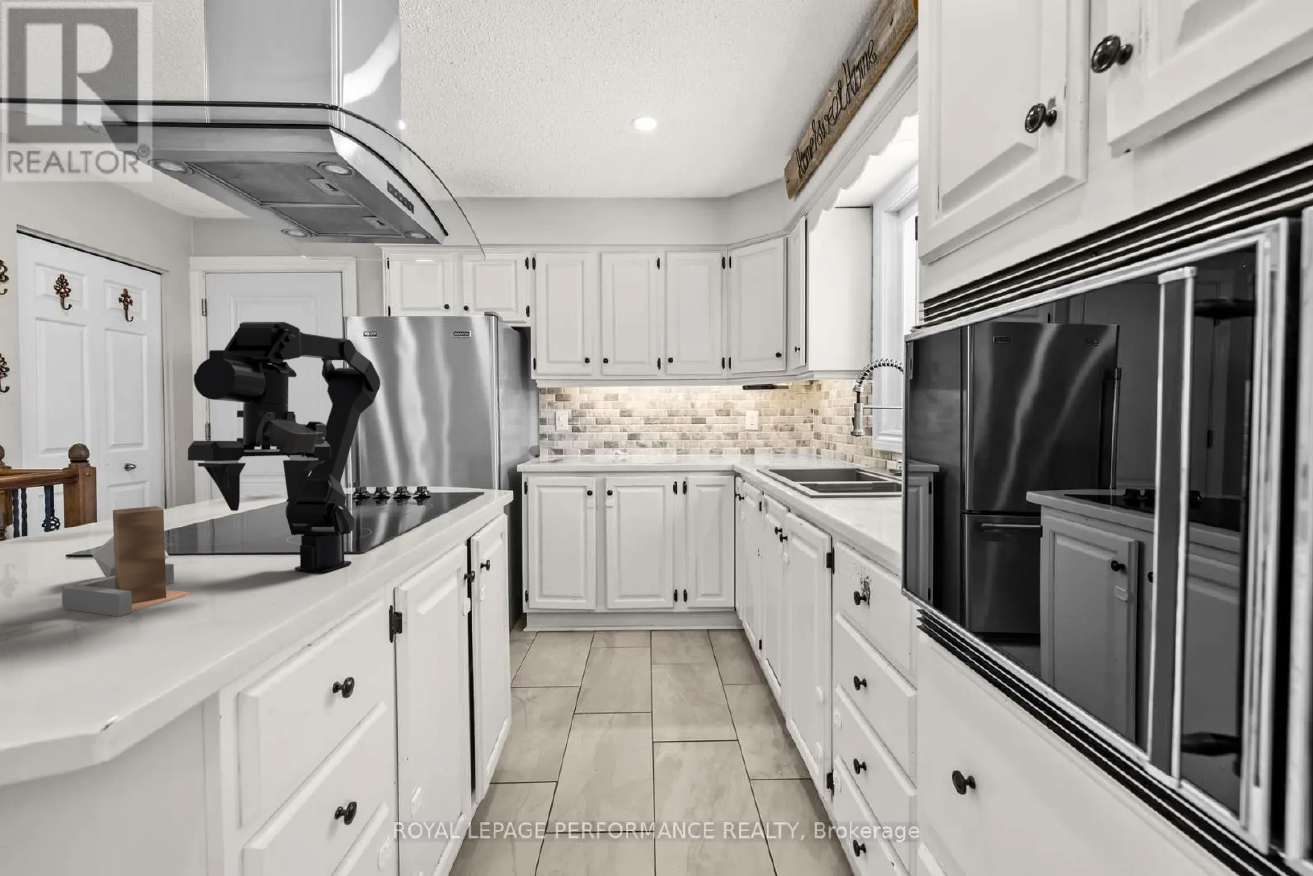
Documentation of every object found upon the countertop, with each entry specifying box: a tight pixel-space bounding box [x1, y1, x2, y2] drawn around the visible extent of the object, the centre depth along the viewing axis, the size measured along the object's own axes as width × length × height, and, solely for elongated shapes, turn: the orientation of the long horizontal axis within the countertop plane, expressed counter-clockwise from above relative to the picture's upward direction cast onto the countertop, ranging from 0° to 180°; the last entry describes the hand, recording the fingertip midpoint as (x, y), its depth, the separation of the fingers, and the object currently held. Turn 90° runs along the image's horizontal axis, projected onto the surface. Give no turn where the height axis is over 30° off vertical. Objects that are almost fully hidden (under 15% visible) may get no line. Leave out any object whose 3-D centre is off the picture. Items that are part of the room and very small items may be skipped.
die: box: [91, 535, 169, 578], centre depth 98 cm, size 8×9×10 cm
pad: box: [132, 589, 190, 612], centre depth 87 cm, size 8×8×1 cm
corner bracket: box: [61, 563, 175, 617], centre depth 88 cm, size 14×11×3 cm
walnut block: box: [112, 505, 167, 604], centre depth 86 cm, size 5×5×13 cm
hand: (265, 507), depth 90 cm, fingers open, 9 cm apart
